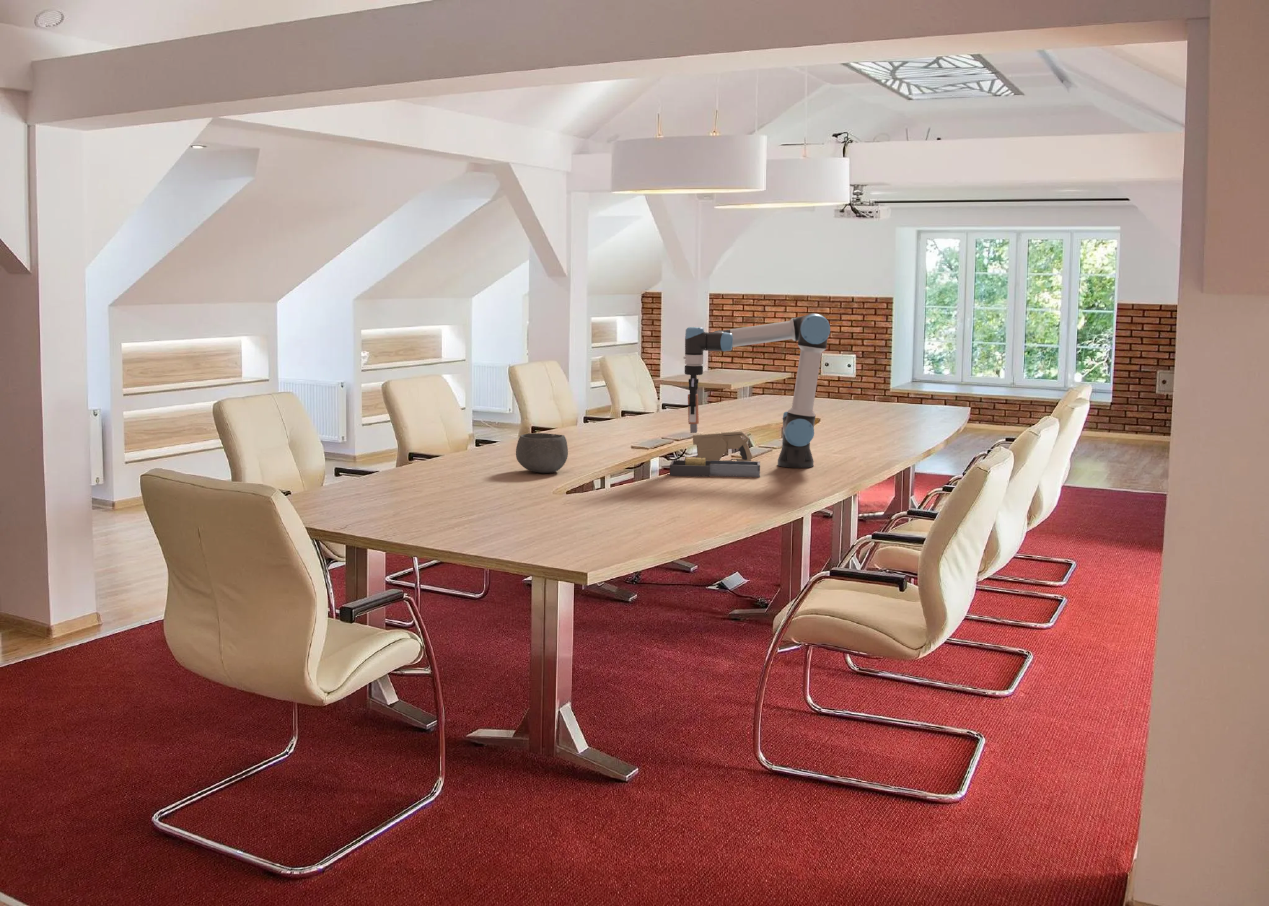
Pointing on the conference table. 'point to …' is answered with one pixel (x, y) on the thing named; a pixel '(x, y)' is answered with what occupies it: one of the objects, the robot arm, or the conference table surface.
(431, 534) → the conference table surface
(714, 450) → the gun
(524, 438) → the bowl
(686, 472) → the tray
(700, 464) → the tan cube
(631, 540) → the conference table surface
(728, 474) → the rail
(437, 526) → the conference table surface
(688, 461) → the tan wooden cube
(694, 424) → the salmon pink rectangular prism
